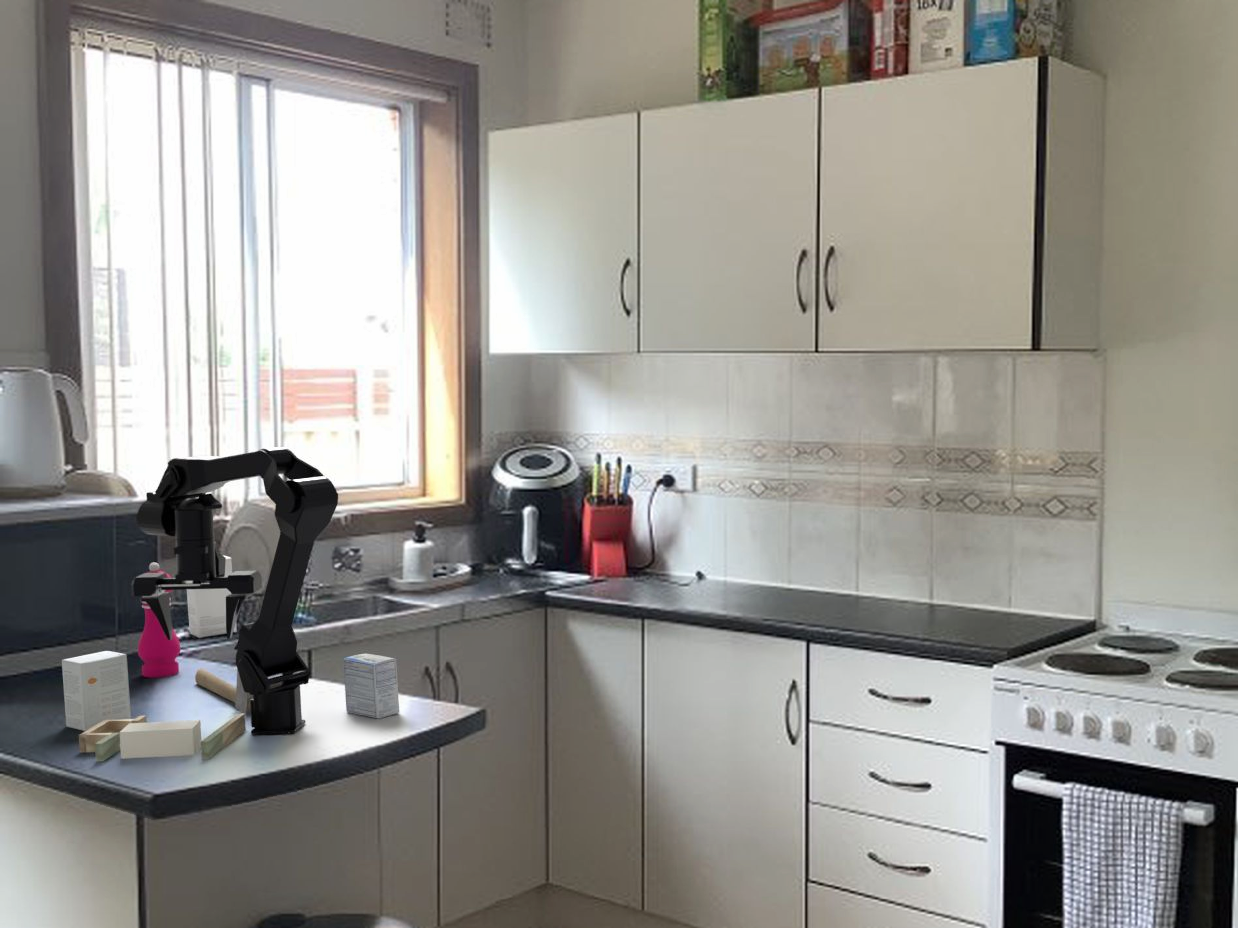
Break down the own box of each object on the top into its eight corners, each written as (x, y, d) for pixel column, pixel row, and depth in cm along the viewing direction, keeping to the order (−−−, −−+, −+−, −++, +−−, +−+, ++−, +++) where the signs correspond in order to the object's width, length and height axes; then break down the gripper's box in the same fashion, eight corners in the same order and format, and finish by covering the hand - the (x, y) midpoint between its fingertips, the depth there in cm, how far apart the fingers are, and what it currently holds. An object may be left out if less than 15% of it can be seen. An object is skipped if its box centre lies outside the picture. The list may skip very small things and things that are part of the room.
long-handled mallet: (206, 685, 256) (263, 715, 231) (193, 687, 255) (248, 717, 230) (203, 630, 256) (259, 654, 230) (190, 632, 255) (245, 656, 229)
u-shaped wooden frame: (245, 729, 221) (244, 713, 221) (208, 759, 205) (207, 741, 205) (111, 732, 222) (110, 716, 222) (64, 761, 206) (63, 744, 206)
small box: (111, 716, 233) (107, 649, 233) (132, 720, 230) (127, 653, 229) (64, 726, 227) (60, 658, 226) (84, 731, 224) (80, 662, 223)
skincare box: (227, 628, 309) (223, 554, 308) (238, 633, 303) (233, 557, 302) (187, 633, 304) (183, 558, 303) (197, 638, 299) (192, 561, 298)
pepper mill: (174, 677, 261) (167, 564, 260) (133, 678, 261) (126, 565, 260) (187, 668, 268) (180, 558, 267) (147, 670, 268) (140, 560, 267)
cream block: (201, 747, 213) (200, 719, 212) (194, 756, 208) (192, 728, 208) (130, 750, 212) (129, 723, 212) (121, 760, 207) (119, 732, 207)
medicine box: (400, 713, 228) (397, 657, 227) (377, 719, 224) (374, 663, 224) (368, 707, 233) (365, 652, 232) (345, 712, 230) (342, 657, 229)
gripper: (268, 530, 236) (273, 627, 237) (151, 533, 236) (156, 630, 237) (250, 539, 225) (255, 641, 226) (127, 542, 225) (132, 644, 226)
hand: (199, 638), depth 229 cm, fingers open, 9 cm apart
